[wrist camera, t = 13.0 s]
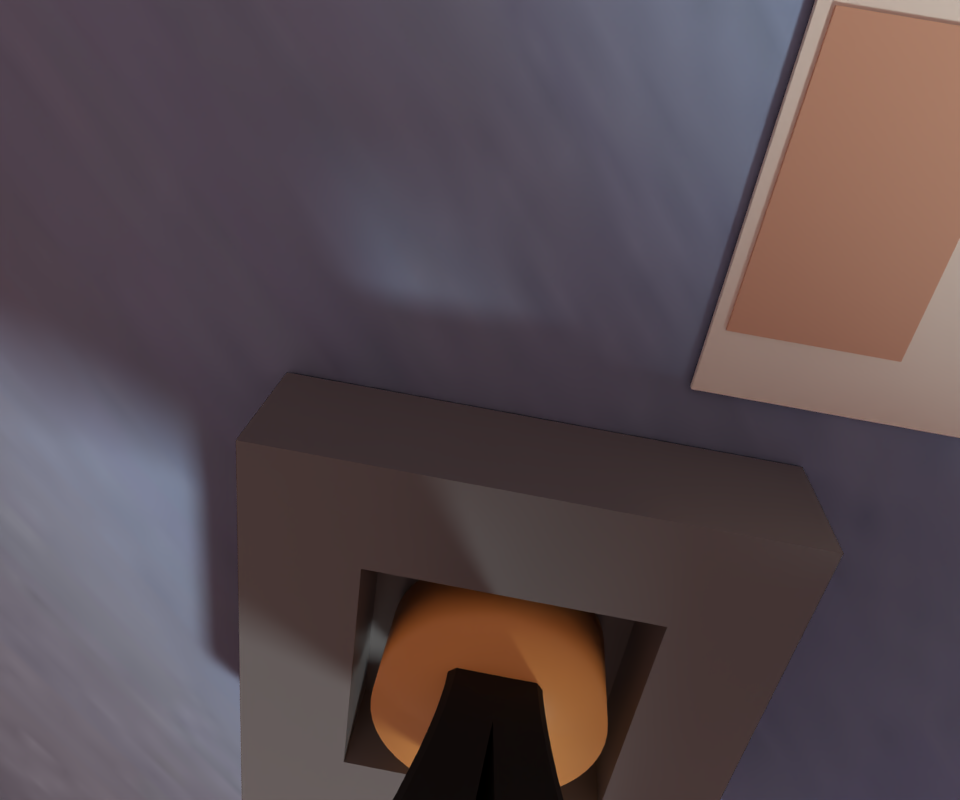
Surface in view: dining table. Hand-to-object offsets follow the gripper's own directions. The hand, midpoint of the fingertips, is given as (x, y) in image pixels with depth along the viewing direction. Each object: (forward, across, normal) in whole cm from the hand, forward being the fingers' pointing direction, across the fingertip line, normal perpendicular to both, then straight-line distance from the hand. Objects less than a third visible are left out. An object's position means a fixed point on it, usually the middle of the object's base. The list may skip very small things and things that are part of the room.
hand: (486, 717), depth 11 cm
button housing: (+2, 0, 0) cm, 2 cm away
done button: (+1, 0, 0) cm, 1 cm away
